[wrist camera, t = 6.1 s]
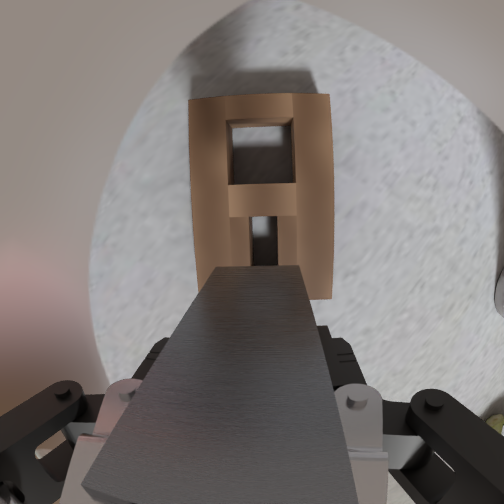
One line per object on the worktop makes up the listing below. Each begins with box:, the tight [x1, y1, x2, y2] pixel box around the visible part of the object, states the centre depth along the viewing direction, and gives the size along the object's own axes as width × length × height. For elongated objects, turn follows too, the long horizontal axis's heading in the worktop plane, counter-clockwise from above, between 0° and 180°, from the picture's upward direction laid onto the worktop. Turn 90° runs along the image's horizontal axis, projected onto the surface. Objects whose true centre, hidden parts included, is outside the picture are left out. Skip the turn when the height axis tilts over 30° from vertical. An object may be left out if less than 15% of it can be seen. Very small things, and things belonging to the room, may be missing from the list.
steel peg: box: [81, 265, 359, 504], centre depth 9 cm, size 4×4×12 cm
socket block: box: [188, 93, 334, 300], centre depth 26 cm, size 12×18×4 cm, turn 2°
